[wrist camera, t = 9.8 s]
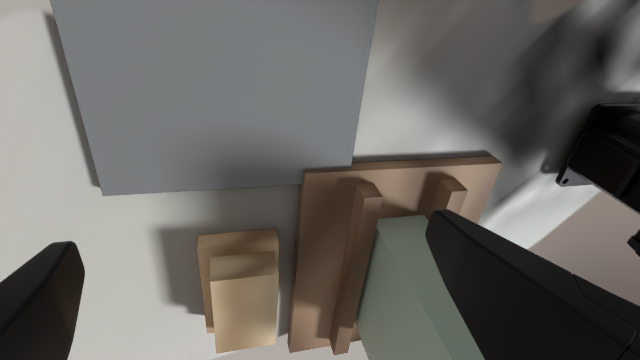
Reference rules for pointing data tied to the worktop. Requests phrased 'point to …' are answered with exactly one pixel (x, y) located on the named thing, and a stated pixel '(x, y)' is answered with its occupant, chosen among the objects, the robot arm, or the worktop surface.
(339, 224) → the rack
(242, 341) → the offcut upper
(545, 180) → the worktop surface
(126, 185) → the mat
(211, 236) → the offcut lower
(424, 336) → the sage green block
